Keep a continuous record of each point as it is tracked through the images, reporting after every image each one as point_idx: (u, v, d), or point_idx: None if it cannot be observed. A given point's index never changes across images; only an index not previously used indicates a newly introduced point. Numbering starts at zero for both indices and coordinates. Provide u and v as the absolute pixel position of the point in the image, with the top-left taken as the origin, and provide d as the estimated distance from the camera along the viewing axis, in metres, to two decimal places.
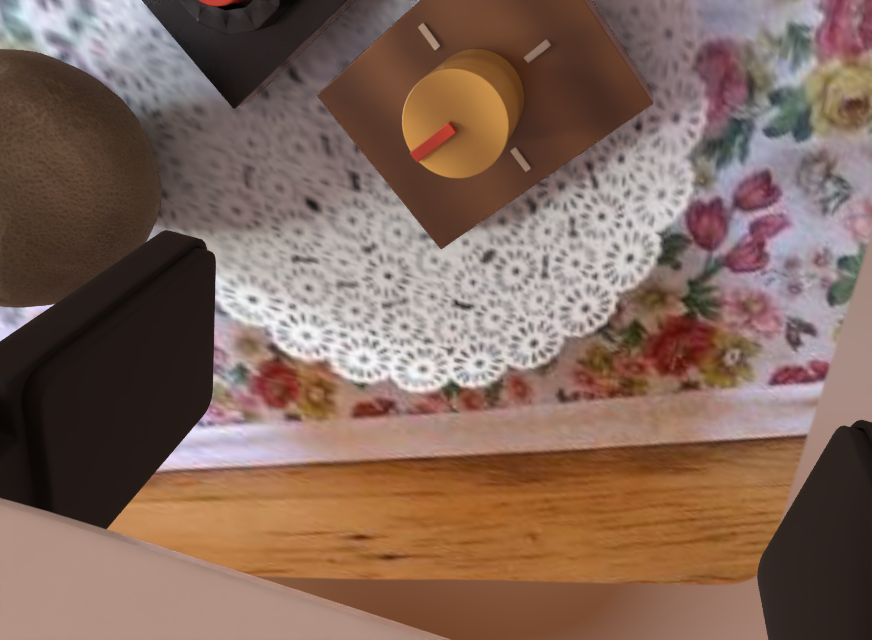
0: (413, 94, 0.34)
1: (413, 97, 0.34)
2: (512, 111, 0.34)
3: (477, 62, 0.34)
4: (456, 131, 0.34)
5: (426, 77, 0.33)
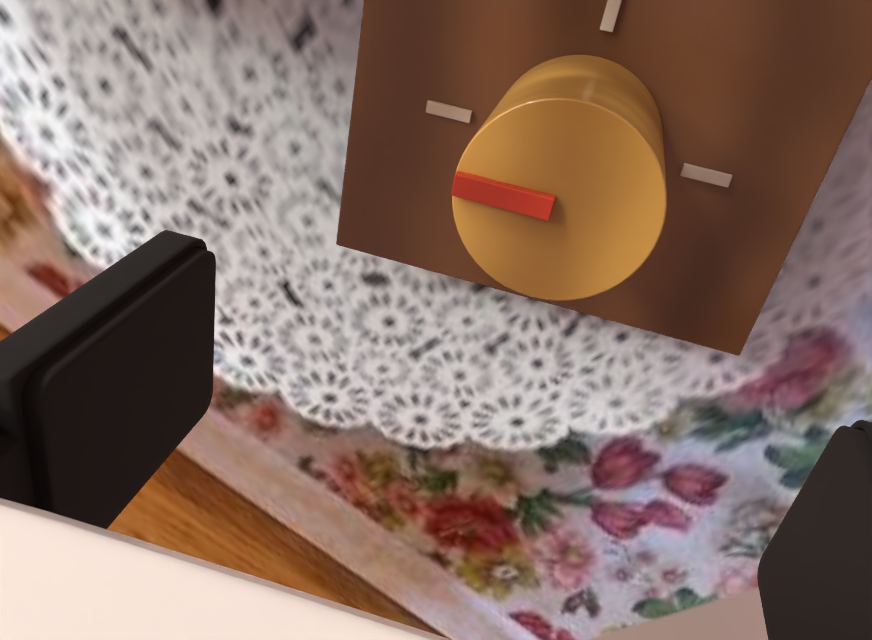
0: (552, 107, 0.16)
1: (546, 110, 0.16)
2: None
3: (659, 142, 0.18)
4: None
5: (597, 108, 0.16)
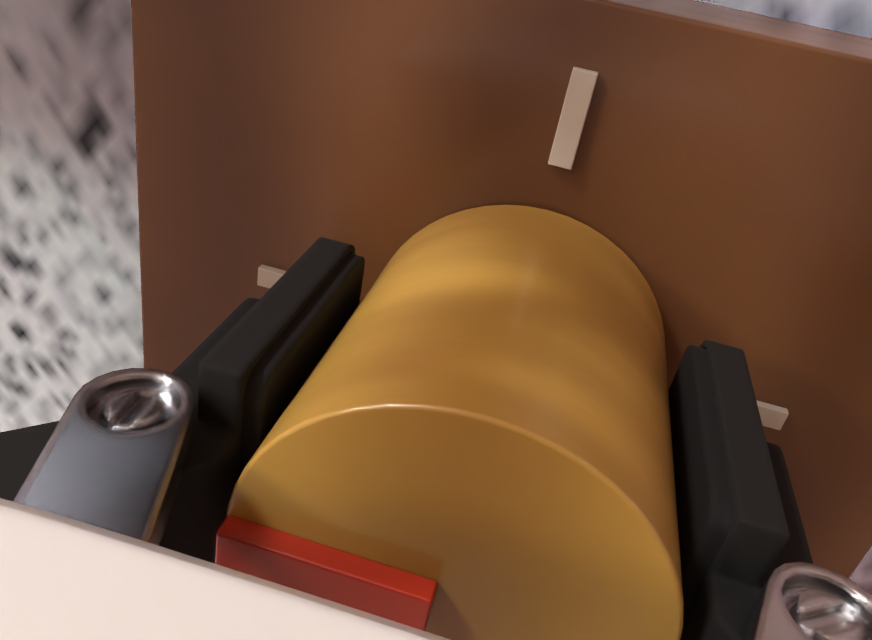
0: (414, 423, 0.07)
1: (400, 428, 0.07)
2: None
3: (663, 427, 0.09)
4: None
5: (519, 433, 0.07)
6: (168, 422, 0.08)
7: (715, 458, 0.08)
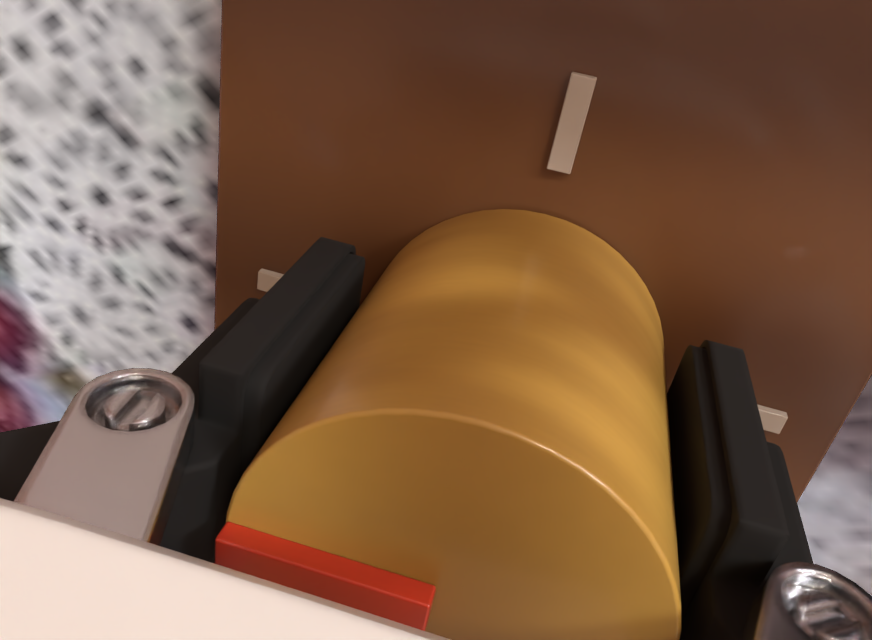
0: (409, 428, 0.07)
1: (396, 434, 0.07)
2: None
3: (661, 430, 0.09)
4: None
5: (514, 437, 0.07)
6: (169, 422, 0.08)
7: (715, 458, 0.08)
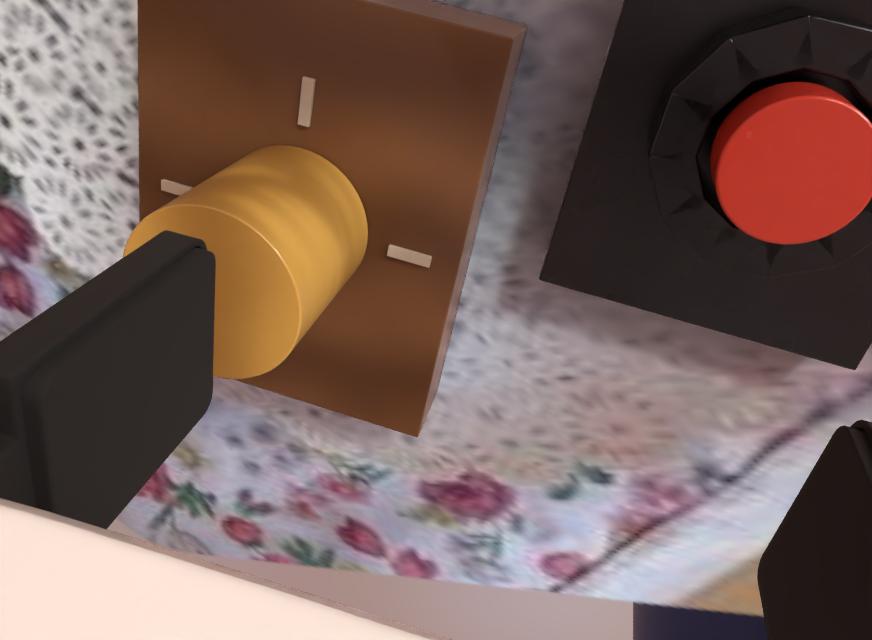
0: (186, 211, 0.18)
1: (182, 214, 0.18)
2: None
3: (318, 234, 0.20)
4: None
5: (223, 213, 0.18)
6: None
7: None
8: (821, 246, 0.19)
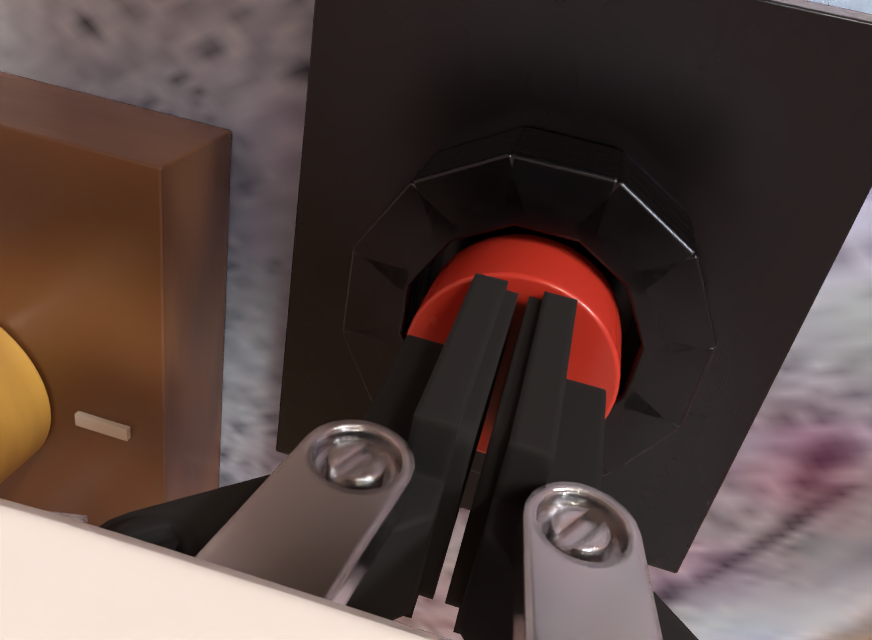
0: None
1: None
2: None
3: None
4: None
5: None
6: (396, 479, 0.07)
7: (512, 392, 0.09)
8: None
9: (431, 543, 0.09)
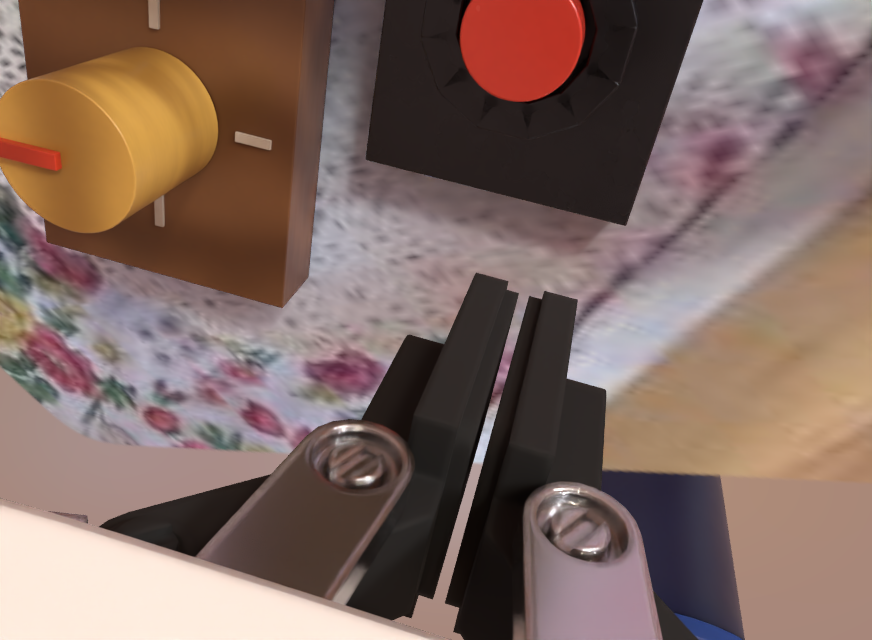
0: (35, 85, 0.22)
1: (32, 88, 0.22)
2: (151, 196, 0.25)
3: (156, 111, 0.24)
4: (60, 168, 0.23)
5: (63, 85, 0.22)
6: (397, 478, 0.07)
7: (512, 392, 0.09)
8: (563, 108, 0.24)
9: (431, 543, 0.09)
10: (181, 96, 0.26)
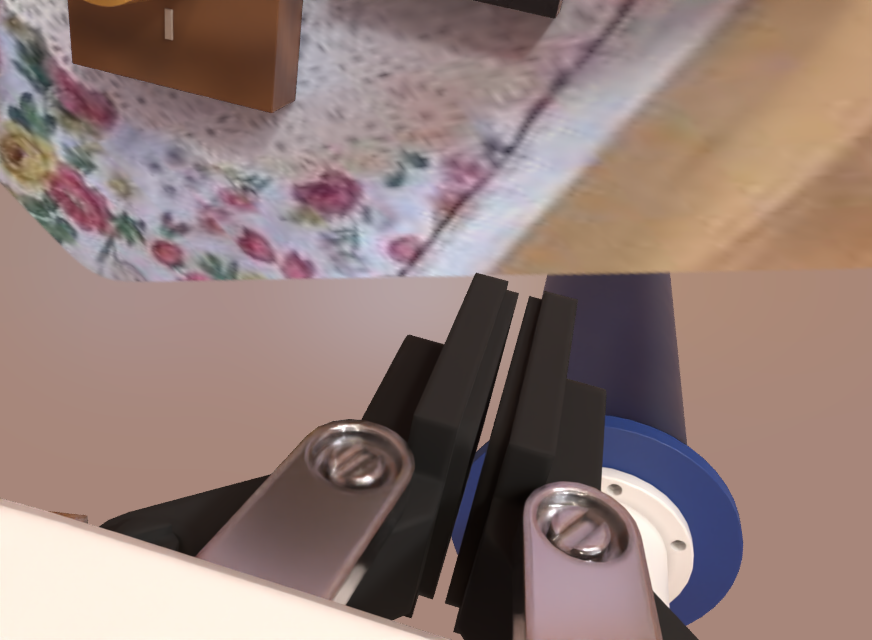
0: None
1: None
2: None
3: None
4: None
5: None
6: (396, 479, 0.07)
7: (512, 392, 0.09)
8: None
9: (431, 543, 0.09)
10: None
